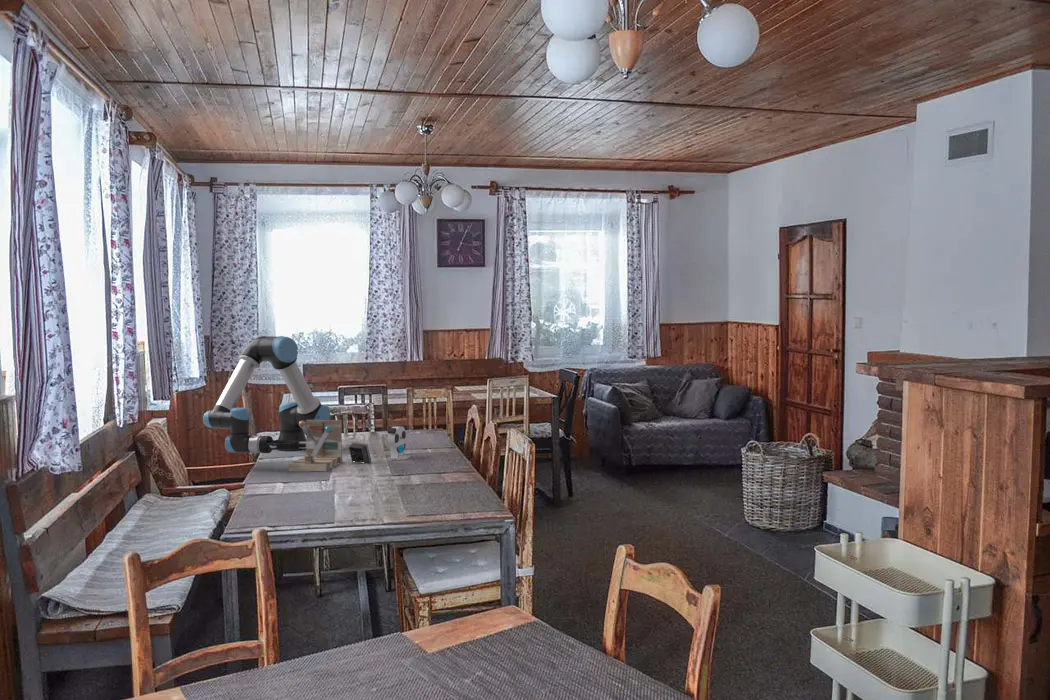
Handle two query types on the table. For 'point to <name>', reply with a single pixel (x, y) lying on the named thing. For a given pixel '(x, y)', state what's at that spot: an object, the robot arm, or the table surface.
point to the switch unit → (329, 449)
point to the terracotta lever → (307, 432)
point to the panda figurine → (396, 440)
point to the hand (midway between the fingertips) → (314, 445)
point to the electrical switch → (359, 452)
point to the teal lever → (321, 442)
